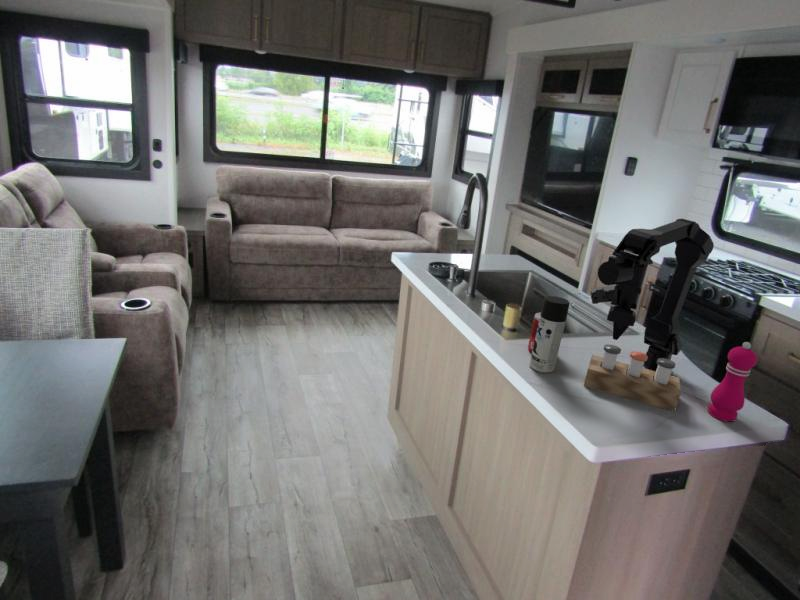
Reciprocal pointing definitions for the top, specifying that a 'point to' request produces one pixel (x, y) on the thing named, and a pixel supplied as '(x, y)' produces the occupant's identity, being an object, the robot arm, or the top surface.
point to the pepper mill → (732, 384)
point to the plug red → (636, 363)
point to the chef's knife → (693, 393)
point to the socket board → (633, 384)
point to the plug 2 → (663, 370)
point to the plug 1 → (610, 356)
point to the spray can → (549, 334)
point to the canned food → (534, 331)
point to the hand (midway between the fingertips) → (615, 338)
